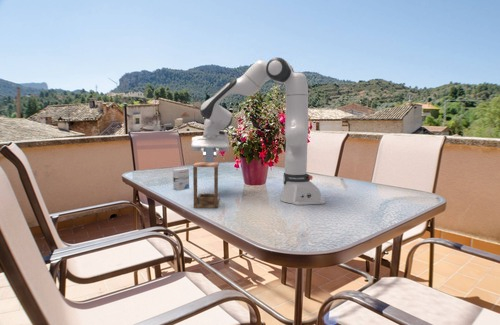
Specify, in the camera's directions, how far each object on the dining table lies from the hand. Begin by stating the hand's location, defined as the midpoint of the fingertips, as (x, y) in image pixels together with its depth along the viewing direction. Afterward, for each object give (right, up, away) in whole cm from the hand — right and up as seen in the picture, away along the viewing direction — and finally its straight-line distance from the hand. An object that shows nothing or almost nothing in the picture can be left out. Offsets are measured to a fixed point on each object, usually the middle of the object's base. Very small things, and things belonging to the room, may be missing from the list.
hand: (209, 156), depth 154 cm
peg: (0, -5, +1) cm, 5 cm away
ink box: (-20, -19, +24) cm, 37 cm away
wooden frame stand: (0, -23, -9) cm, 25 cm away
